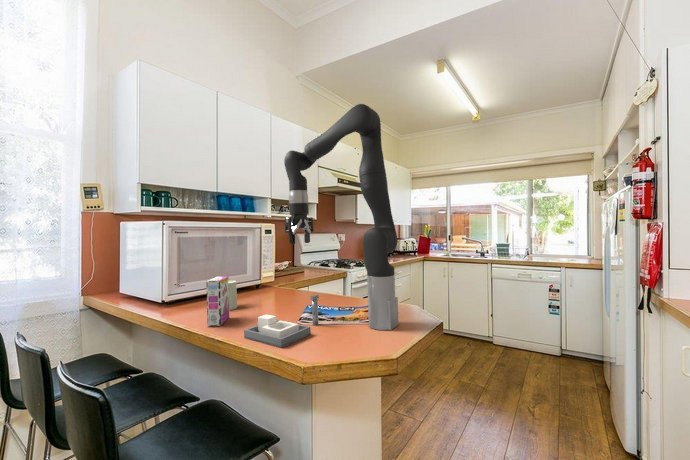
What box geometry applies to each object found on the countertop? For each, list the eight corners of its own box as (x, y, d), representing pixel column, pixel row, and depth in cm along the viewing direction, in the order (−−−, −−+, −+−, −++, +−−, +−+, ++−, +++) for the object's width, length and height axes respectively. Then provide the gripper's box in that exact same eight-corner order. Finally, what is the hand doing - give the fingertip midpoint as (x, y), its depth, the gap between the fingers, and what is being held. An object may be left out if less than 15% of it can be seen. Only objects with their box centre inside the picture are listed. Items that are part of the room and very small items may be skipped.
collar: (298, 333, 99) (298, 317, 99) (280, 341, 93) (279, 324, 93) (271, 327, 106) (271, 312, 106) (252, 334, 100) (252, 318, 100)
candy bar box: (221, 326, 112) (219, 280, 111) (207, 327, 111) (205, 281, 111) (230, 317, 123) (228, 275, 123) (217, 318, 122) (215, 276, 122)
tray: (310, 334, 100) (310, 326, 100) (281, 348, 89) (281, 339, 89) (274, 326, 109) (274, 319, 109) (244, 337, 99) (243, 330, 99)
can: (242, 306, 139) (241, 279, 139) (224, 312, 131) (223, 283, 131) (228, 304, 144) (227, 278, 144) (210, 309, 136) (209, 282, 136)
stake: (320, 323, 111) (319, 295, 110) (315, 326, 108) (313, 296, 108) (316, 323, 112) (315, 294, 112) (310, 325, 109) (309, 296, 109)
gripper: (293, 201, 116) (294, 244, 116) (317, 202, 128) (318, 242, 128) (278, 202, 120) (280, 244, 121) (303, 204, 132) (304, 242, 132)
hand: (300, 243), depth 124 cm, fingers open, 8 cm apart
